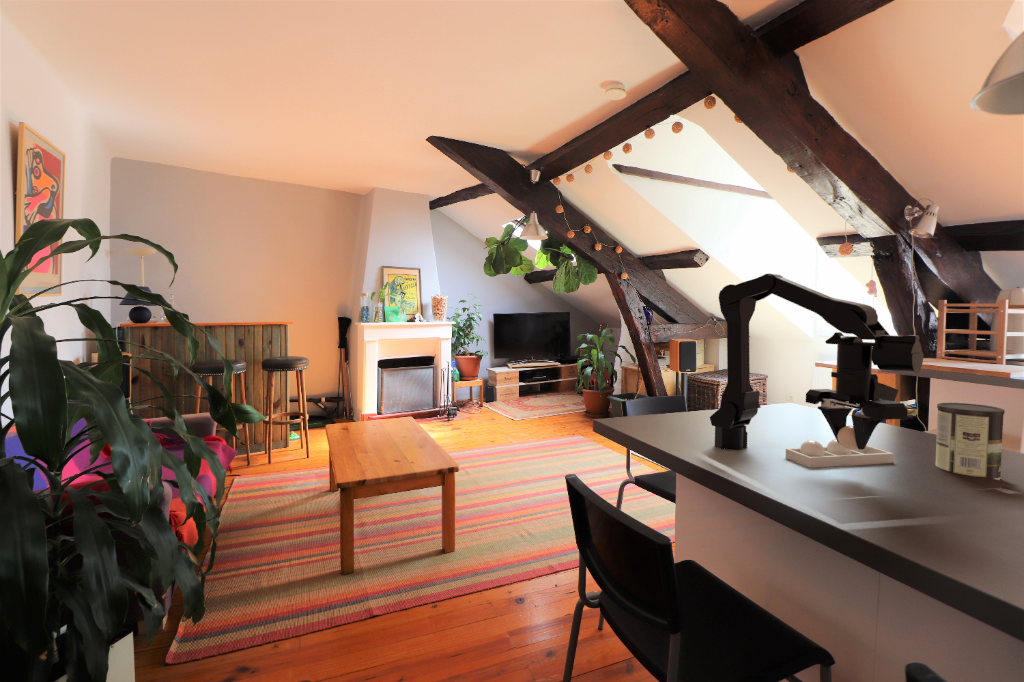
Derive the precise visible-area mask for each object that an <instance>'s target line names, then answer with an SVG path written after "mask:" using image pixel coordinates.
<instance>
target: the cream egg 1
mask: <svg viewBox="0 0 1024 682" xmlns="http://www.w3.org/2000/svg"><path fill="white" fill-rule="evenodd" d="M824 447H825V446H823V444H821V443H820V442H818V441H817V440H813V439H810V440H806V441H803V442H802V443H801V445H800V447H799V448H800V453H801V454H804V455H807V456H809V457H818V456H824V454H825V450H824Z"/></svg>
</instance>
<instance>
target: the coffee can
mask: <svg viewBox="0 0 1024 682" xmlns="http://www.w3.org/2000/svg"><path fill="white" fill-rule="evenodd" d="M936 408H937V419H936V425H937V426H936V442H935V443H936V444H935V448H936V449H935V467H937V468H938V469H941V470H944V471H946V472H949V473H954V474H959V475H964V476H970V477H976V478H977V477H978V478H989V479H994V480H996V481H1001V480H1002V477H1001V472H1002V451H1003V433H1004V432H1003V430H1004V426H1003V425H1004V416H1005V412H1006V411H1005V409H1003V408H1001V407H997V406H992V405H985V404H976V403H975V404H974V403H968V402H967V403H966V402H965V403H964V402H963V403H961V402H939V403H937V404H936ZM1000 479H1001V480H1000Z"/></svg>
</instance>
